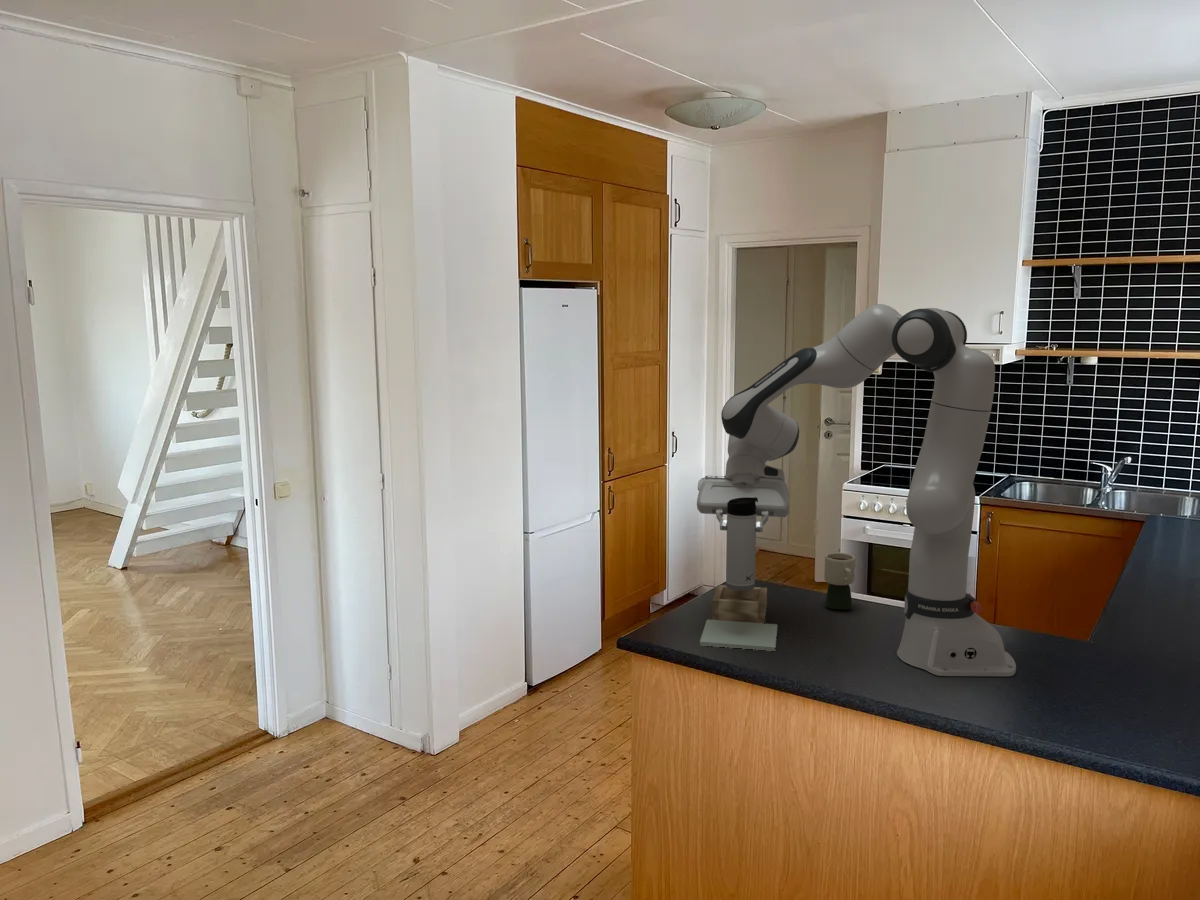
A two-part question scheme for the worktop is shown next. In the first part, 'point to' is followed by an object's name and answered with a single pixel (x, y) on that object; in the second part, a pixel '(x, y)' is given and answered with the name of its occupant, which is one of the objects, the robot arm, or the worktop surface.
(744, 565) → the travel mug
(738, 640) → the sage mat
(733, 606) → the birch holder
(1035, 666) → the worktop surface
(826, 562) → the character mug
